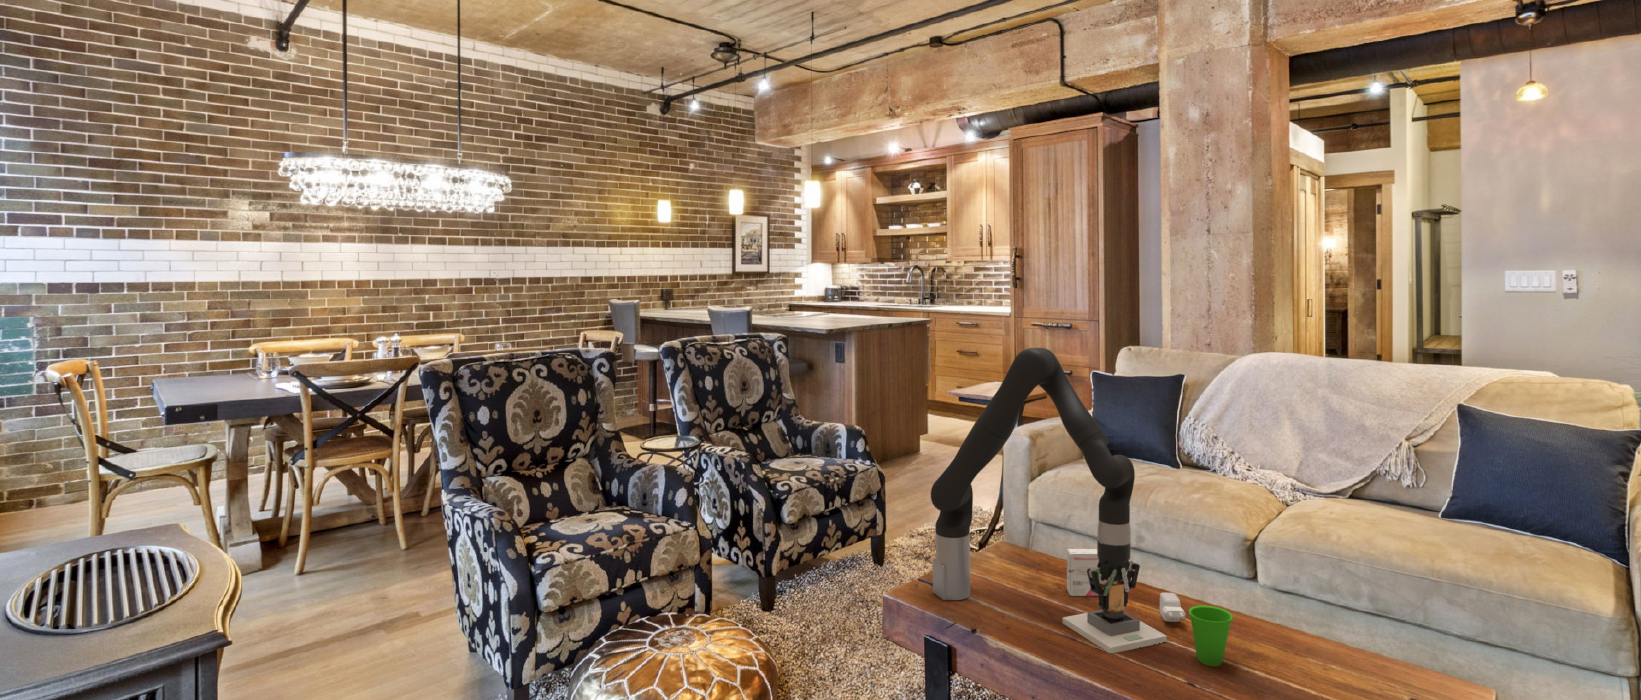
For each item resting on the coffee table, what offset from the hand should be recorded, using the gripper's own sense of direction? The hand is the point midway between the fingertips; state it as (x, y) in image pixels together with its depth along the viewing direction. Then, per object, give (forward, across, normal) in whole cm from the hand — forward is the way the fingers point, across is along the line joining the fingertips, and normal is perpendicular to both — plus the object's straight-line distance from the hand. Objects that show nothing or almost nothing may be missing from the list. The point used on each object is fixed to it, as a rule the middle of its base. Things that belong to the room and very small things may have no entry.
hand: (1113, 607), depth 200 cm
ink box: (+7, -9, -23) cm, 25 cm away
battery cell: (+3, 0, 0) cm, 3 cm away
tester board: (+6, 0, 0) cm, 6 cm away
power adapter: (+7, -17, +1) cm, 18 cm away
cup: (+6, -10, +20) cm, 23 cm away
